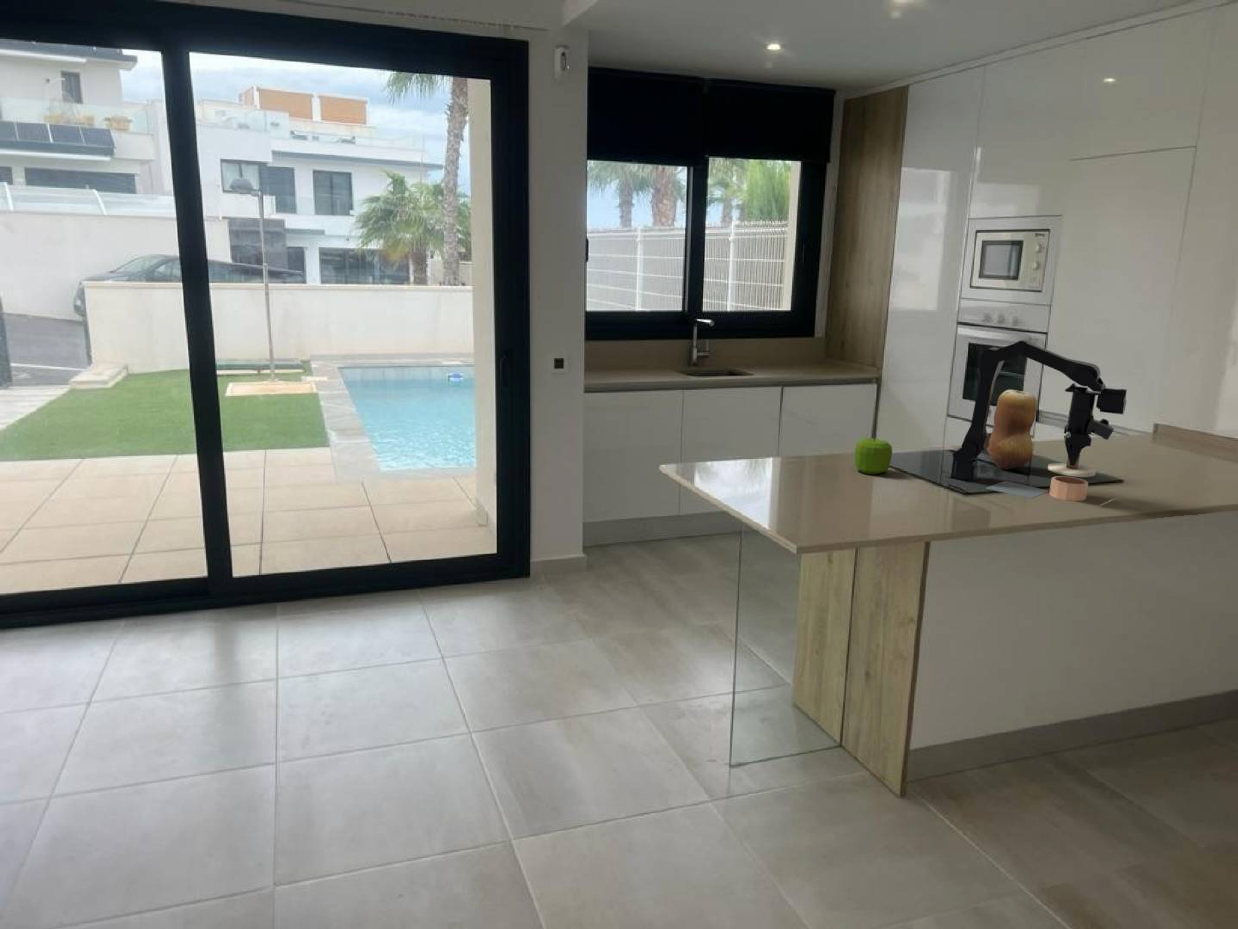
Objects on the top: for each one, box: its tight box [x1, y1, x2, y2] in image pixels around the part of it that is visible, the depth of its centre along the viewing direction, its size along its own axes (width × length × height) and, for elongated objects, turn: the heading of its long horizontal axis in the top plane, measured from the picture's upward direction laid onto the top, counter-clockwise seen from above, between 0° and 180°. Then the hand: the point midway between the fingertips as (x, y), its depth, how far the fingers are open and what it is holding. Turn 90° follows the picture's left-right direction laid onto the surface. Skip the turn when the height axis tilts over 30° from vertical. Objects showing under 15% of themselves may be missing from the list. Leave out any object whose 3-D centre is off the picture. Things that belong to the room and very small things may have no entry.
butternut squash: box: [986, 389, 1038, 471], centre depth 279 cm, size 14×13×25 cm
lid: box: [1047, 453, 1097, 478], centre depth 248 cm, size 12×12×5 cm
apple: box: [853, 437, 893, 475], centre depth 271 cm, size 11×11×11 cm
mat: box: [985, 480, 1050, 499], centre depth 256 cm, size 13×13×1 cm
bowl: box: [1048, 475, 1089, 502], centre depth 250 cm, size 9×9×5 cm
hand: (1072, 464), depth 248 cm, fingers closed on lid, 3 cm apart
